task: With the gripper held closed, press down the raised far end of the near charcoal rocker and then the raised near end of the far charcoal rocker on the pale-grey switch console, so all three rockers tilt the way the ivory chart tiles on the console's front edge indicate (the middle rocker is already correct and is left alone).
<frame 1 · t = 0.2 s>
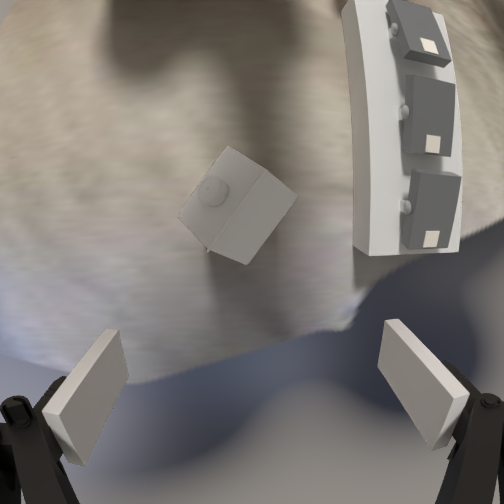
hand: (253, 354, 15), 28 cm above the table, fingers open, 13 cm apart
console: (397, 123, 38), on the table
milk carton: (239, 195, 41), on the table
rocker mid: (429, 115, 30), point 9 cm above the table, hinge at 14.0°
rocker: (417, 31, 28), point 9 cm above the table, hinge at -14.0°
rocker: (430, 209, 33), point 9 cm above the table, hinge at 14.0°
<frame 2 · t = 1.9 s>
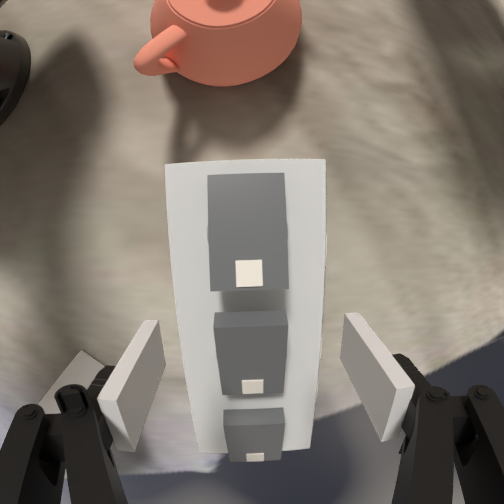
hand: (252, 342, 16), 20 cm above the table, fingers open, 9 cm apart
teapot: (232, 27, 29), on the table
console: (249, 315, 37), on the table
milk carton: (94, 378, 39), on the table
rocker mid: (251, 355, 28), point 9 cm above the table, hinge at 14.0°
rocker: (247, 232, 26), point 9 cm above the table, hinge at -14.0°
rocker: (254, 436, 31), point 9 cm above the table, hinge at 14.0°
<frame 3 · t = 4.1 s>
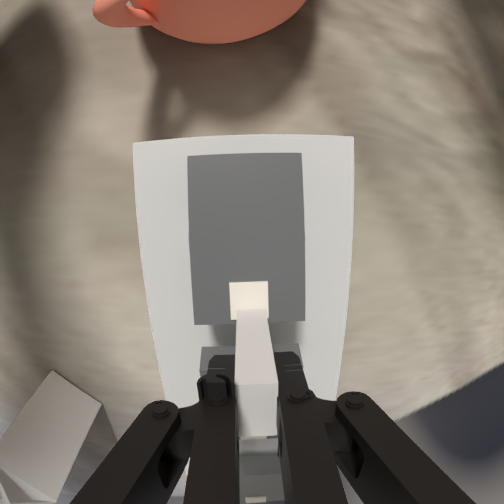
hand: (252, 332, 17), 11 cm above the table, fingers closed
console: (248, 336, 29), on the table
milk carton: (70, 400, 31), on the table
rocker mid: (251, 397, 21), point 9 cm above the table, hinge at 14.0°
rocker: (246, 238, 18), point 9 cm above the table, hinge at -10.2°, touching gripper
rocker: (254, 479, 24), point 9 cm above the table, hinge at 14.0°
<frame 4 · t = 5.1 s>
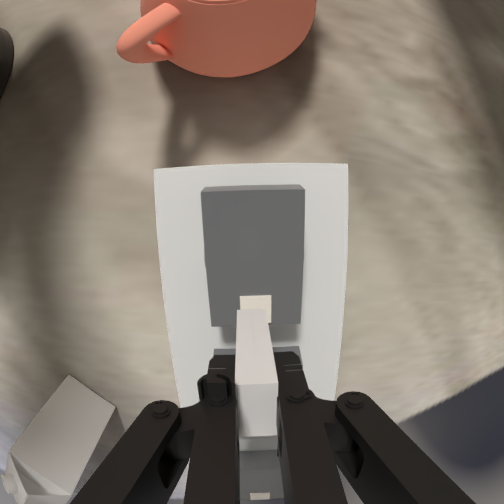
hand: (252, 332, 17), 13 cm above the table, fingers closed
teapot: (235, 13, 25), on the table
console: (254, 343, 31), on the table
milk carton: (85, 403, 34), on the table
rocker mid: (257, 395, 23), point 9 cm above the table, hinge at 14.0°
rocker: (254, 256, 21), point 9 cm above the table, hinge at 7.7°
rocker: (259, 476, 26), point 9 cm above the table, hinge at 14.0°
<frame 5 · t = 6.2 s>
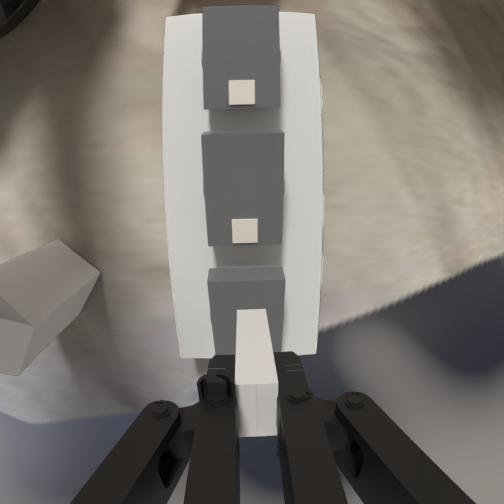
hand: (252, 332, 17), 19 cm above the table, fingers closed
console: (243, 182, 33), on the table
milk carton: (69, 276, 35), on the table
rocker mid: (243, 187, 25), point 9 cm above the table, hinge at 14.0°
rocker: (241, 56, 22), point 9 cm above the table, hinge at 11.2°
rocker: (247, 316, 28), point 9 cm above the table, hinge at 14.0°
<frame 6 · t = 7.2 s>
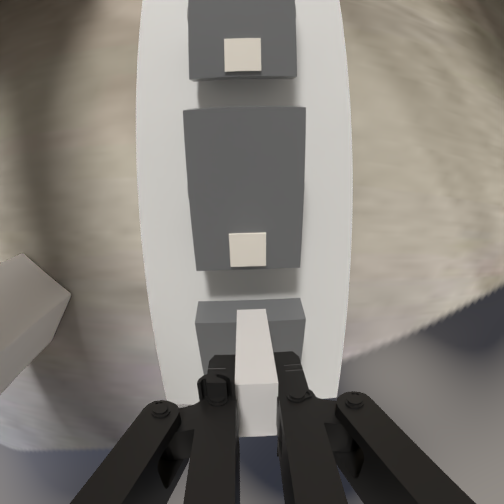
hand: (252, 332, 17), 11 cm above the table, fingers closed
console: (244, 182, 26), on the table
milk carton: (38, 297, 28), on the table
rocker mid: (246, 187, 18), point 9 cm above the table, hinge at 14.0°
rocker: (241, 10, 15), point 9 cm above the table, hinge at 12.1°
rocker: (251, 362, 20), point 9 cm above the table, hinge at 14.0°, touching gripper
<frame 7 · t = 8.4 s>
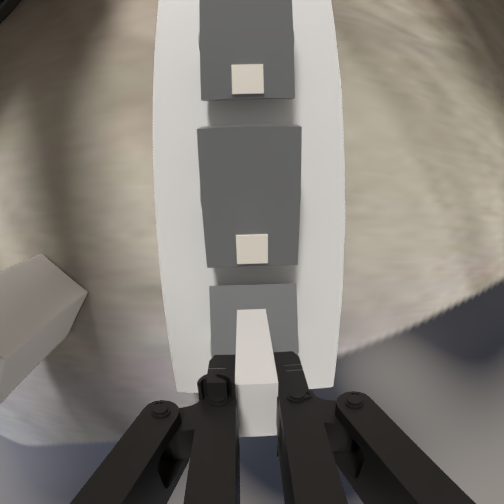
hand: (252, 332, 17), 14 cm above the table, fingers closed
console: (249, 190, 29), on the table
milk carton: (54, 295, 31), on the table
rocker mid: (250, 195, 20), point 9 cm above the table, hinge at 14.0°
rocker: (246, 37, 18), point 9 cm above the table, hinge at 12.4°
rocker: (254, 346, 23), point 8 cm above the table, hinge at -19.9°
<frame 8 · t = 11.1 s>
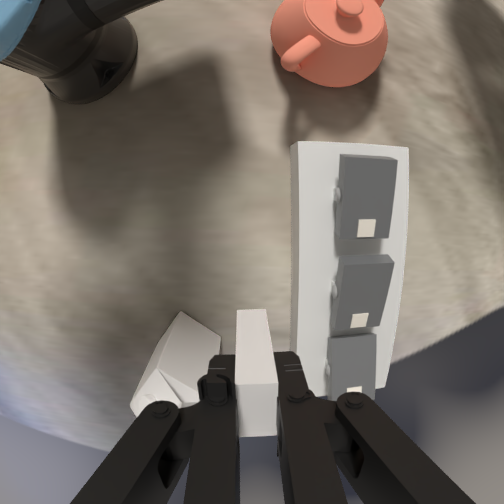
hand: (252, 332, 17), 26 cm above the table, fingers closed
teapot: (327, 40, 37), on the table
console: (340, 270, 44), on the table
milk carton: (188, 339, 46), on the table
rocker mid: (360, 292, 36), point 9 cm above the table, hinge at 14.0°
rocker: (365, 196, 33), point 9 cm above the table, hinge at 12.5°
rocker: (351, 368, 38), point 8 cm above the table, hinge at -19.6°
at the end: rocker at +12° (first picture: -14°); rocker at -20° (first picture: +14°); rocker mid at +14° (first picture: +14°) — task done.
